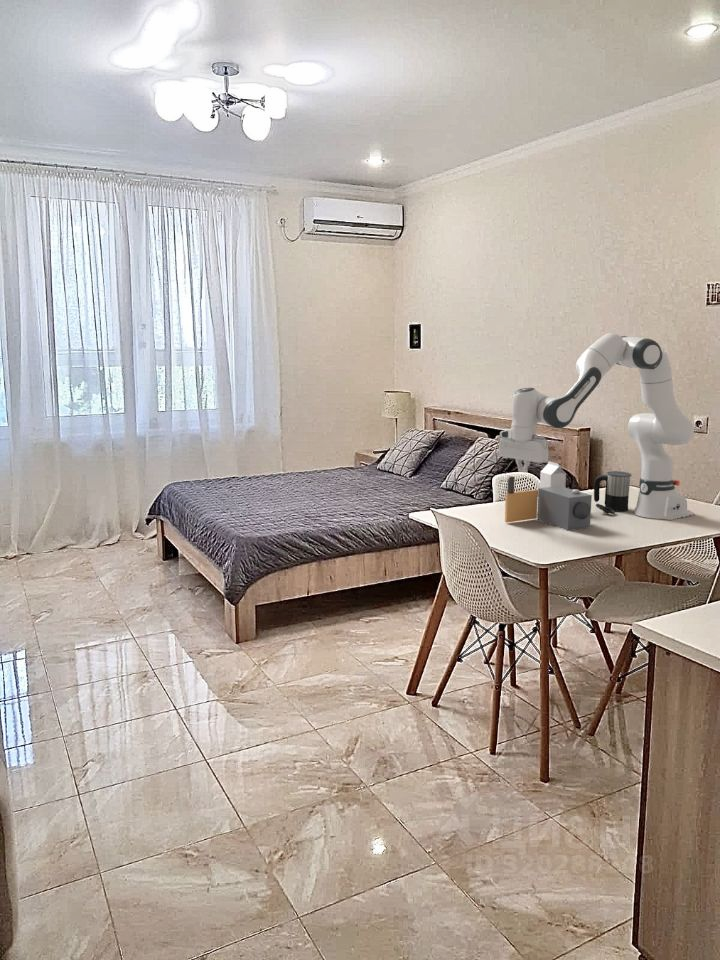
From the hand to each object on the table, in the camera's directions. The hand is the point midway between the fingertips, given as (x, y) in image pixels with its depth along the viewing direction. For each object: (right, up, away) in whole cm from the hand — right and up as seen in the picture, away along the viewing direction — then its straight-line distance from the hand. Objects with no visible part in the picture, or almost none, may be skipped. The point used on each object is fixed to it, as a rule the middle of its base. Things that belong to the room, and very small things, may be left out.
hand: (522, 471), depth 274 cm
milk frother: (+41, -16, +27) cm, 51 cm away
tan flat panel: (+2, -18, +11) cm, 21 cm away
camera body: (+17, -19, +8) cm, 27 cm away
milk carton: (+18, -15, +30) cm, 38 cm away
